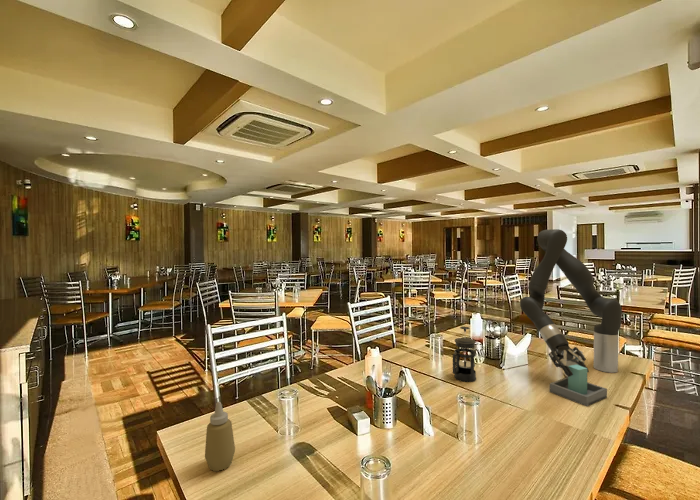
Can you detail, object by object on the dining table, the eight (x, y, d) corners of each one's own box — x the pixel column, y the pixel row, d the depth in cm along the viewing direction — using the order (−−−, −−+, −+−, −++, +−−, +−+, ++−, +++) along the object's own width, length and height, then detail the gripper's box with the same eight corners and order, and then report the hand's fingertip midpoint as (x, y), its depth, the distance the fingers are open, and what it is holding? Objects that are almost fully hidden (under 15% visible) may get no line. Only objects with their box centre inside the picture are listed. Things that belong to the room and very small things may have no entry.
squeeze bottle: (210, 457, 101) (208, 396, 101) (238, 455, 102) (236, 395, 101) (200, 476, 93) (198, 410, 93) (231, 473, 94) (229, 408, 93)
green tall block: (576, 388, 140) (576, 364, 139) (587, 393, 135) (587, 368, 135) (568, 390, 138) (568, 365, 138) (578, 395, 134) (578, 370, 134)
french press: (466, 372, 161) (466, 323, 160) (482, 379, 152) (482, 327, 152) (446, 376, 156) (446, 326, 155) (461, 384, 148) (461, 331, 147)
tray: (569, 384, 146) (569, 376, 146) (606, 397, 134) (607, 388, 134) (549, 391, 140) (549, 383, 139) (586, 406, 127) (587, 397, 127)
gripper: (546, 334, 142) (571, 372, 131) (571, 331, 146) (598, 367, 136) (535, 344, 147) (559, 381, 136) (560, 340, 151) (585, 375, 141)
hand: (578, 374), depth 136 cm, fingers open, 8 cm apart
